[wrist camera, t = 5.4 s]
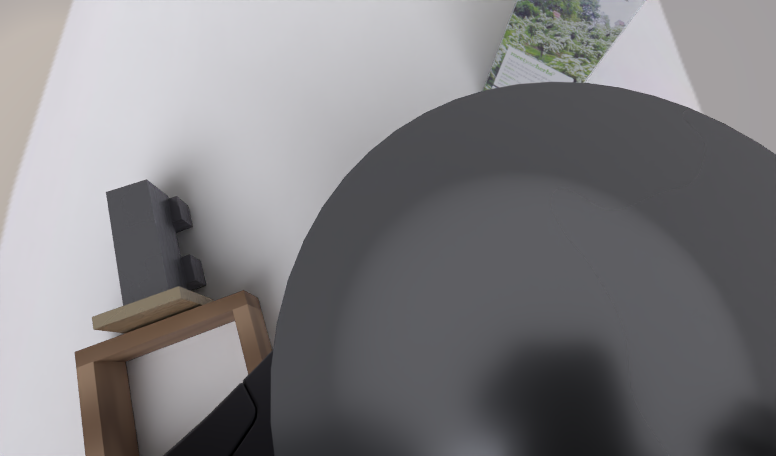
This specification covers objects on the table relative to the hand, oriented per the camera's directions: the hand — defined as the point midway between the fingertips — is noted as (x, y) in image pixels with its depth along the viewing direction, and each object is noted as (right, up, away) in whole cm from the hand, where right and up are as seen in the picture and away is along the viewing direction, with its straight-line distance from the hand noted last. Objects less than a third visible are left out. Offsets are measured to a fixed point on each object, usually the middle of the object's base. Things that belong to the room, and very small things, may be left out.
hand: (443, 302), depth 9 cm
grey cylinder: (0, -4, +6) cm, 7 cm away
